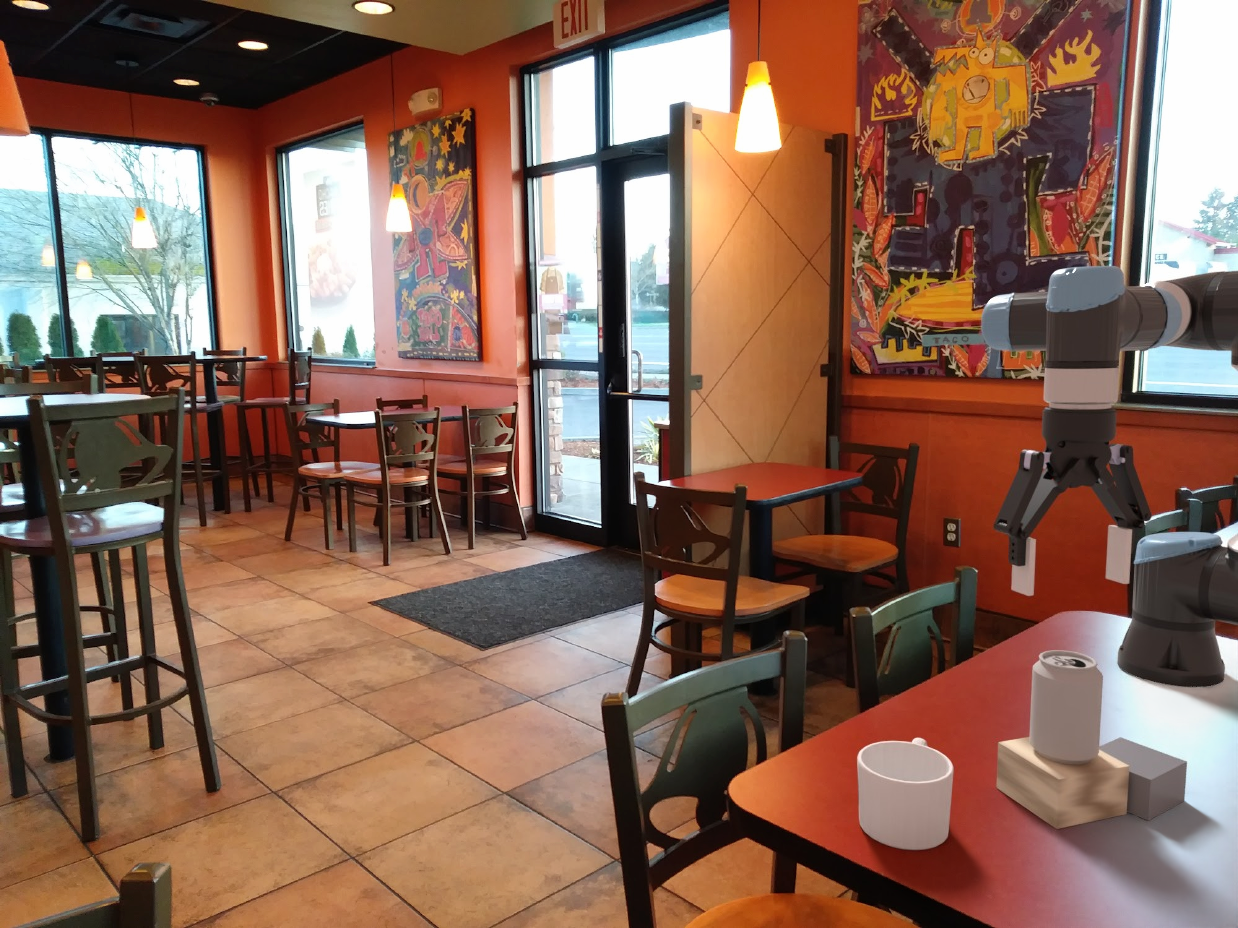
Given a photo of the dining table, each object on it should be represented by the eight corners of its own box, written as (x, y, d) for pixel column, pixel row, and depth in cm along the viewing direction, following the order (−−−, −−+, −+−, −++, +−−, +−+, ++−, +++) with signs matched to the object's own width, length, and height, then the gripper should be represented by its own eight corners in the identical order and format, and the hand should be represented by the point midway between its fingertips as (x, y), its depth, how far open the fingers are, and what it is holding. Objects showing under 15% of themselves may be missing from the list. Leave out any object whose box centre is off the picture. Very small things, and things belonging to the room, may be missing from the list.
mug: (939, 862, 96) (942, 792, 95) (844, 835, 102) (845, 769, 101) (965, 806, 107) (967, 743, 106) (877, 785, 113) (879, 724, 112)
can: (1107, 770, 103) (1113, 670, 101) (1037, 765, 105) (1042, 667, 103) (1087, 741, 110) (1092, 648, 109) (1022, 737, 112) (1026, 645, 110)
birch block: (1062, 774, 114) (1064, 730, 113) (1126, 813, 105) (1129, 765, 104) (996, 787, 112) (998, 742, 111) (1056, 828, 102) (1059, 779, 101)
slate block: (1118, 774, 114) (1120, 737, 114) (1184, 800, 107) (1187, 761, 107) (1081, 791, 110) (1083, 753, 109) (1148, 820, 103) (1150, 779, 103)
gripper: (1138, 399, 109) (1129, 568, 112) (964, 408, 102) (959, 588, 105) (1194, 402, 102) (1182, 584, 104) (1011, 412, 95) (1003, 606, 97)
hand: (1070, 586), depth 105 cm, fingers open, 13 cm apart
